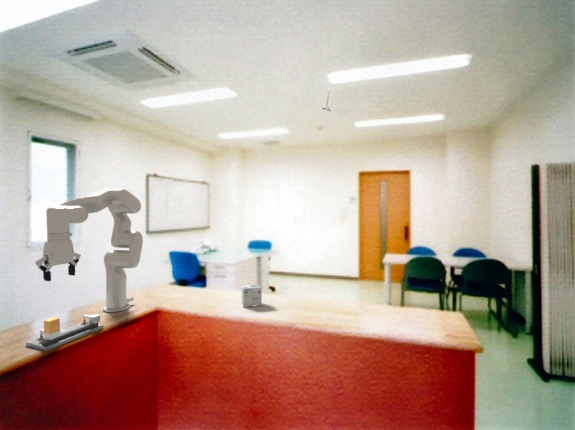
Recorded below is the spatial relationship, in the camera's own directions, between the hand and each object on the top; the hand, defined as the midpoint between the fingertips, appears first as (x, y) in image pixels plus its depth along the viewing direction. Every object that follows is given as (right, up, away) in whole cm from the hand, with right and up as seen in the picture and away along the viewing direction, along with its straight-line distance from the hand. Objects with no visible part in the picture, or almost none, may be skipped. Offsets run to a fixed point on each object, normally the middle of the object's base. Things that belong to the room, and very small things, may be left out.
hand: (60, 277), depth 129 cm
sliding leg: (-1, -23, -5) cm, 24 cm away
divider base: (+1, -25, +3) cm, 26 cm away
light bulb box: (+74, -25, +48) cm, 92 cm away
